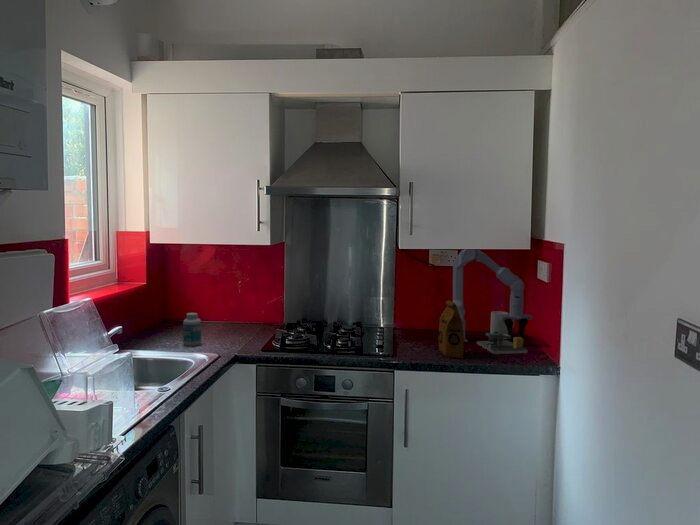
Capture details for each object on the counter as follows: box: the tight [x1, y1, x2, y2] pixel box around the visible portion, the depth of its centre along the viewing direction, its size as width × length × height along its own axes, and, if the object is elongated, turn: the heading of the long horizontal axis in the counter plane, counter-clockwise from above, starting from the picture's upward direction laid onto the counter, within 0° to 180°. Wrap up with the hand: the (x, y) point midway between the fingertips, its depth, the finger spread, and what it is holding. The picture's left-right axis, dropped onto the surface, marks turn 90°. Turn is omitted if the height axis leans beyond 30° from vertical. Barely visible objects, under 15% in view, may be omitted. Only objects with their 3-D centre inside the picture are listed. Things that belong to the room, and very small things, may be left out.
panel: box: [476, 331, 528, 355], centre depth 233 cm, size 15×18×6 cm
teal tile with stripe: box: [485, 332, 512, 340], centre depth 239 cm, size 11×4×1 cm, turn 100°
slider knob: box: [512, 336, 524, 348], centre depth 228 cm, size 3×3×4 cm
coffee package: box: [437, 299, 465, 359], centre depth 221 cm, size 10×12×22 cm
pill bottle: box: [182, 312, 202, 347], centre depth 231 cm, size 8×7×14 cm
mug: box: [489, 310, 515, 340], centre depth 254 cm, size 12×8×12 cm
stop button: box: [488, 336, 497, 343], centre depth 232 cm, size 4×4×2 cm
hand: (515, 335), depth 240 cm, fingers open, 4 cm apart
